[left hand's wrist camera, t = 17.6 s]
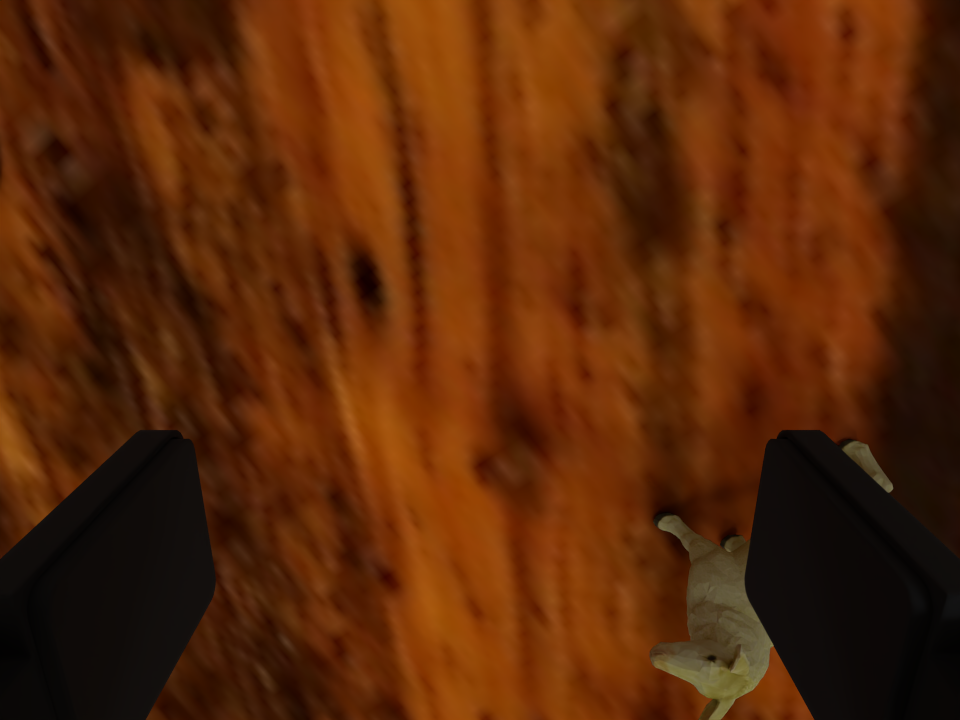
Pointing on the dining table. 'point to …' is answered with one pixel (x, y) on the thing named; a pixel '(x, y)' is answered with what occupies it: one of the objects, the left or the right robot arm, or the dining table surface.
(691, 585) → the toy
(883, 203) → the dining table surface
